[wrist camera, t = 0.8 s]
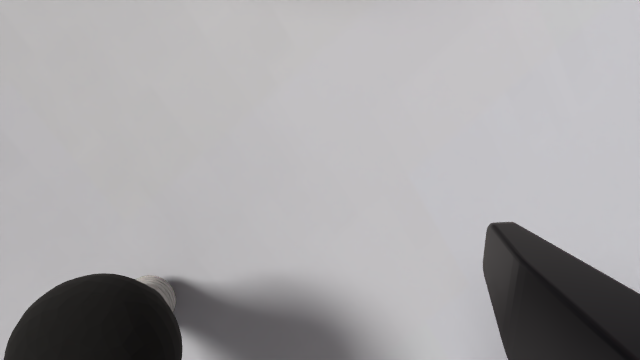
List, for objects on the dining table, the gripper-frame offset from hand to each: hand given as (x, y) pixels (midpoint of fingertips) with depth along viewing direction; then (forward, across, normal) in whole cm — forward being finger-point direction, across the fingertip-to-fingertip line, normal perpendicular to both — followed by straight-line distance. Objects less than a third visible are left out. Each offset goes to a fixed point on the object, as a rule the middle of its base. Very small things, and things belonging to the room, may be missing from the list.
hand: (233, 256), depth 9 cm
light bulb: (+13, +7, +11) cm, 18 cm away
